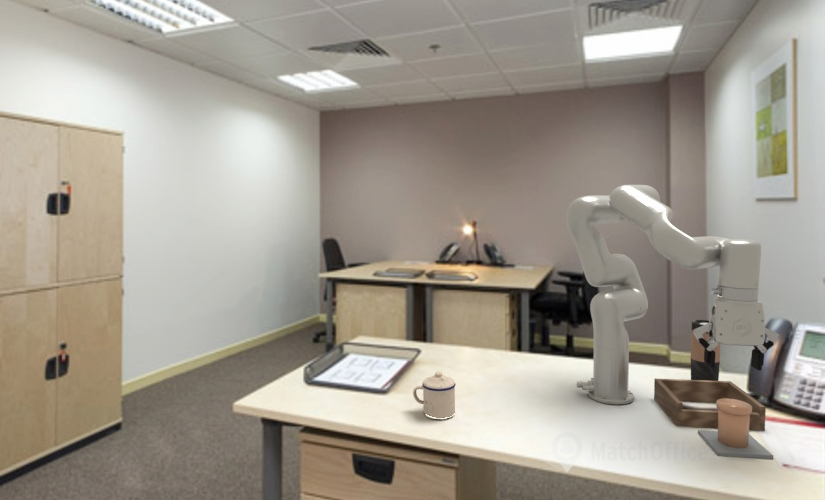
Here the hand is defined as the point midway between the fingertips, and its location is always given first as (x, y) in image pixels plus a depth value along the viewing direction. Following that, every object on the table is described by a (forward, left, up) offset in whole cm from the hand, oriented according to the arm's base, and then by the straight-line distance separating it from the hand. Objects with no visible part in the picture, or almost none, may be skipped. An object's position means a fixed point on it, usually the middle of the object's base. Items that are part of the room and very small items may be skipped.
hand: (732, 367), depth 110 cm
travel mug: (+9, +38, -19) cm, 44 cm away
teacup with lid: (-71, +8, -19) cm, 73 cm away
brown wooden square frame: (+1, +17, -18) cm, 25 cm away
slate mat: (0, -1, -18) cm, 18 cm away
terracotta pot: (0, 0, -18) cm, 18 cm away
